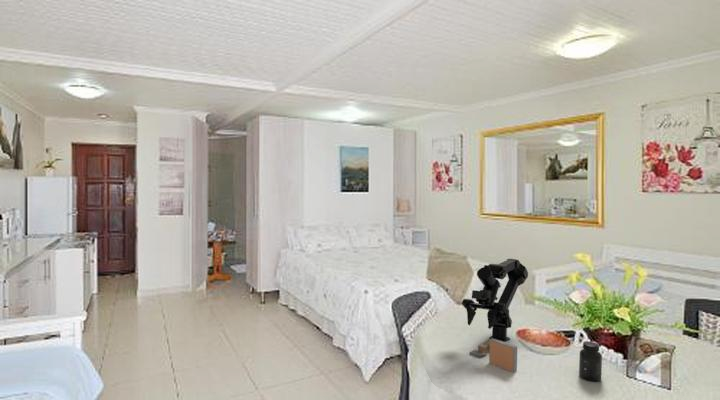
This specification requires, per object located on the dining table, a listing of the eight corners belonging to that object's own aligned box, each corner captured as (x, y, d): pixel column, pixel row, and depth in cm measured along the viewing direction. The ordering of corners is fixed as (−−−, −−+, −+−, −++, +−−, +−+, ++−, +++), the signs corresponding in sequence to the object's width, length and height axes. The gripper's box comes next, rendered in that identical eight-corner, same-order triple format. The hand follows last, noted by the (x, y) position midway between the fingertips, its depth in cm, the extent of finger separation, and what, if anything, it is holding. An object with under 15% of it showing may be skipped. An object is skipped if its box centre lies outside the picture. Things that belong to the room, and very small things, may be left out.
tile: (492, 361, 157) (492, 338, 157) (516, 370, 150) (517, 346, 149) (489, 363, 156) (489, 339, 156) (513, 372, 148) (514, 347, 148)
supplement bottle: (574, 375, 147) (575, 341, 146) (588, 372, 149) (589, 339, 149) (591, 383, 140) (592, 348, 140) (605, 380, 143) (607, 346, 143)
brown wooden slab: (488, 346, 172) (488, 339, 172) (498, 350, 169) (499, 342, 168) (469, 354, 164) (469, 347, 164) (480, 358, 160) (480, 351, 160)
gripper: (461, 279, 174) (448, 313, 167) (501, 283, 160) (490, 320, 153) (473, 293, 180) (462, 326, 173) (514, 297, 166) (503, 334, 159)
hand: (478, 326), depth 164 cm, fingers open, 9 cm apart
